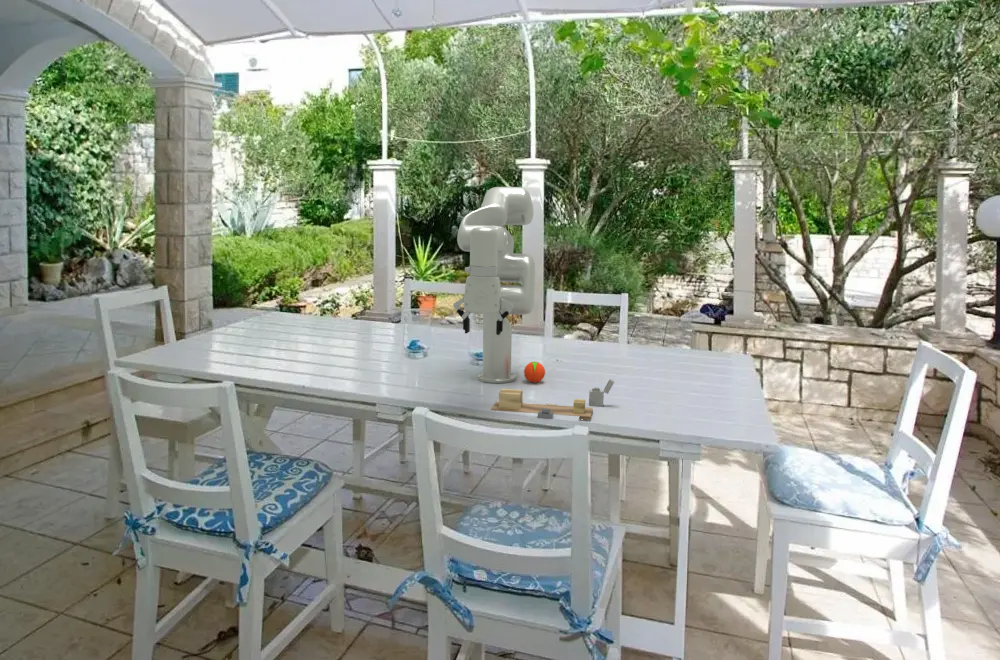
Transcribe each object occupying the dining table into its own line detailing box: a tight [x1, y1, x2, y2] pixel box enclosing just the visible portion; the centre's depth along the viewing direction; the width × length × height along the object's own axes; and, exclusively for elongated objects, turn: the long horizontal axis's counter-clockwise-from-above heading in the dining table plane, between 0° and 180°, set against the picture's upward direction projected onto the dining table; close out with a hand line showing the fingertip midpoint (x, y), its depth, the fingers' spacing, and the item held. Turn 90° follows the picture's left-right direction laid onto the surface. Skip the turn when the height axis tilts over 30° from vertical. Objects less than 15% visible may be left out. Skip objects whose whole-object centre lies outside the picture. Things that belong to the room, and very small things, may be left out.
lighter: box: [588, 378, 615, 407], centre depth 218 cm, size 7×2×8 cm, turn 86°
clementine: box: [523, 361, 546, 384], centre depth 244 cm, size 8×7×7 cm
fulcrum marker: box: [537, 408, 554, 420], centre depth 202 cm, size 2×4×3 cm, turn 79°
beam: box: [490, 398, 594, 421], centre depth 210 cm, size 12×28×4 cm, turn 79°
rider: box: [498, 388, 524, 410], centre depth 211 cm, size 5×6×4 cm
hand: (482, 333), depth 209 cm, fingers open, 8 cm apart
